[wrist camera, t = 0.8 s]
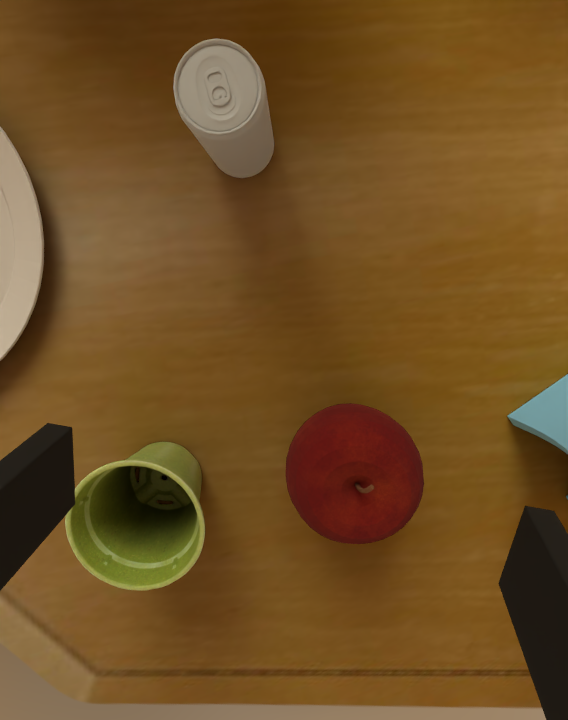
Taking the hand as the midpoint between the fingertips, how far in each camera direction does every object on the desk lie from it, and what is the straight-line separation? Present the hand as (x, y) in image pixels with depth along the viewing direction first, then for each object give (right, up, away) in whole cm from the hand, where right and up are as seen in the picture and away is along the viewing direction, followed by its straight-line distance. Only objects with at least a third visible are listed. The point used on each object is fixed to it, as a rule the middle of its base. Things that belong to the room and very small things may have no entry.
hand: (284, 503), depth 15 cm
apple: (+5, -3, +27) cm, 27 cm away
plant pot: (-10, -6, +28) cm, 30 cm away
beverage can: (-3, +20, +23) cm, 31 cm away
